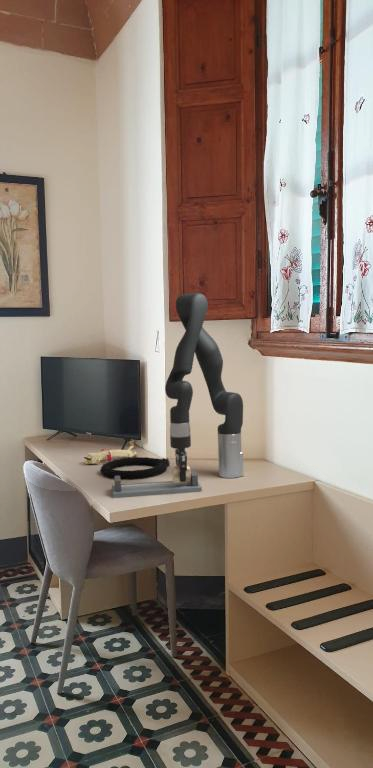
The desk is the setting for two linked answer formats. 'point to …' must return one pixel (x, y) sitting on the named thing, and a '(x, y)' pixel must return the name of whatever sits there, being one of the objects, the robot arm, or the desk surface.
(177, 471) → the keeper
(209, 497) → the desk surface
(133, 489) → the rail board
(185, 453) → the robot arm
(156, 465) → the cable lock
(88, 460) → the cat figure
